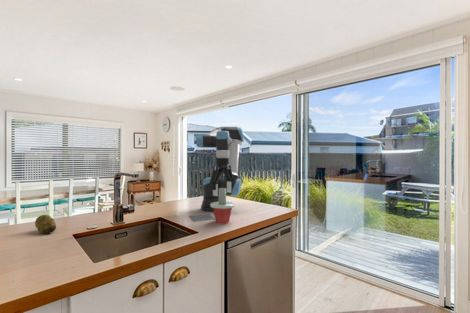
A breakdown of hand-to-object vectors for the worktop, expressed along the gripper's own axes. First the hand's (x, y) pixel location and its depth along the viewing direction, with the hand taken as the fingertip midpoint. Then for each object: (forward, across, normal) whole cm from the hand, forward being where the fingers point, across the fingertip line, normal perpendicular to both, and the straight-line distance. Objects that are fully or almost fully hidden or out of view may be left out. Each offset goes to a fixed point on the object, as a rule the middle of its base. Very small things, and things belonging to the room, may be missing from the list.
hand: (222, 194), depth 147 cm
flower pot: (+17, 0, 0) cm, 17 cm away
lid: (+7, 0, 0) cm, 7 cm away
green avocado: (+17, +65, -64) cm, 93 cm away
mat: (+17, 0, -16) cm, 23 cm away
